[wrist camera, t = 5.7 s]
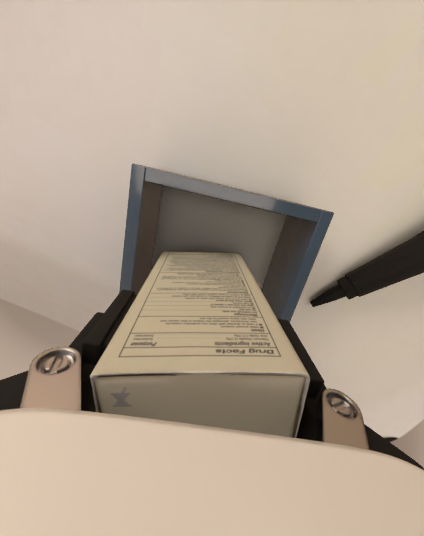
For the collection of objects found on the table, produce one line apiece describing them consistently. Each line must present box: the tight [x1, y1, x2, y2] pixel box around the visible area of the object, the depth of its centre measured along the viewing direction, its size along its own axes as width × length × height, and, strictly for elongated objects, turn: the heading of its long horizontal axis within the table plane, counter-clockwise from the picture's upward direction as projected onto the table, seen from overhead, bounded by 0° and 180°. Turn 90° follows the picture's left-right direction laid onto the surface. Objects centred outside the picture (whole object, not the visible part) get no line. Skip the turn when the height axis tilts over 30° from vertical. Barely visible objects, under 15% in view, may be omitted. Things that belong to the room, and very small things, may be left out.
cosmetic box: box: [90, 252, 310, 438], centre depth 13 cm, size 6×4×12 cm
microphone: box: [310, 231, 424, 307], centre depth 20 cm, size 6×6×20 cm
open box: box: [119, 164, 334, 322], centre depth 19 cm, size 13×14×6 cm
